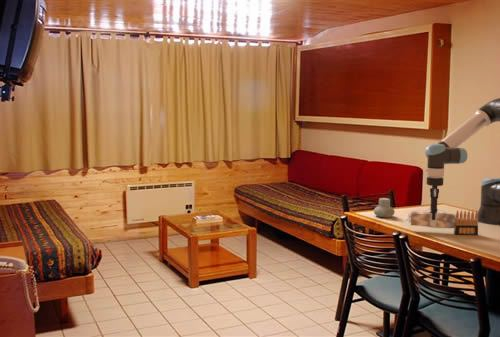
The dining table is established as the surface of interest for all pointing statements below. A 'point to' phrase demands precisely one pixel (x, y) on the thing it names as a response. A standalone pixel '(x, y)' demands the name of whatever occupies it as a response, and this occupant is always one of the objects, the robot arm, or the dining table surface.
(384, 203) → the air freshener
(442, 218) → the mottled beige block
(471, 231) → the ammunition clip
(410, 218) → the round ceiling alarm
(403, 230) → the dining table surface
